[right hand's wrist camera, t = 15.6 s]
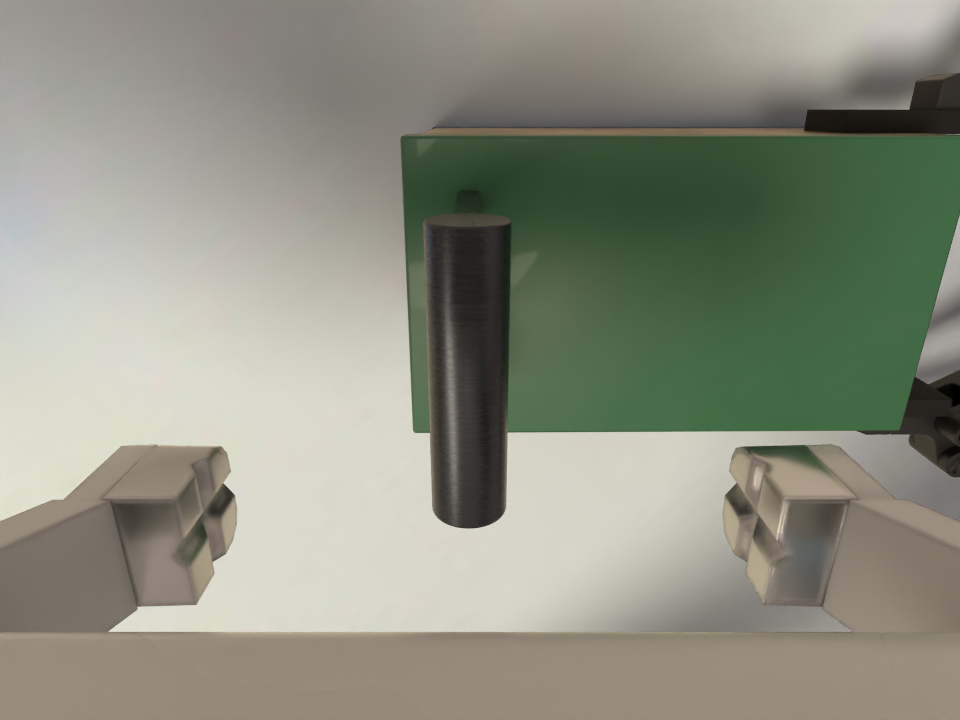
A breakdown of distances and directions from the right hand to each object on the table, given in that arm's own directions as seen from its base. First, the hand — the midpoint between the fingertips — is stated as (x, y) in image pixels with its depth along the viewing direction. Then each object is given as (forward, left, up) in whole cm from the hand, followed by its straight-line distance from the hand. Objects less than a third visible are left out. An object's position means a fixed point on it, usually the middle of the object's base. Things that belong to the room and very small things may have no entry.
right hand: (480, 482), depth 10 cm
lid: (+3, +6, -12) cm, 14 cm away
